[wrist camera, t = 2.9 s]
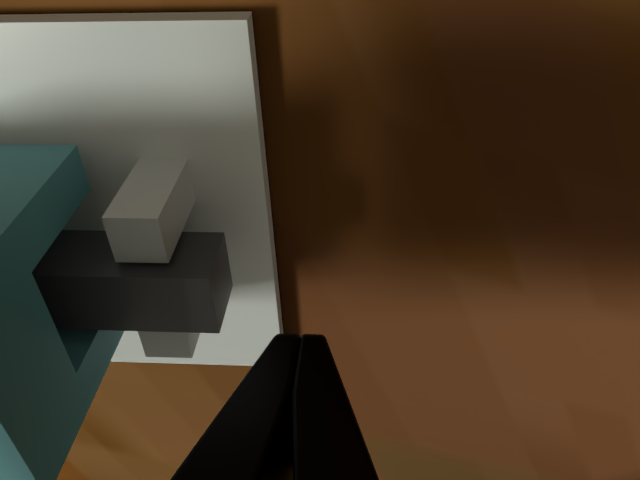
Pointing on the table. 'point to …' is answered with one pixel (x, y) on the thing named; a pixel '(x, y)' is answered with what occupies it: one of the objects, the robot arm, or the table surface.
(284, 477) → the robot arm
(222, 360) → the sliding vise on plate
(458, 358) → the table surface
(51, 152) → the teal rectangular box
